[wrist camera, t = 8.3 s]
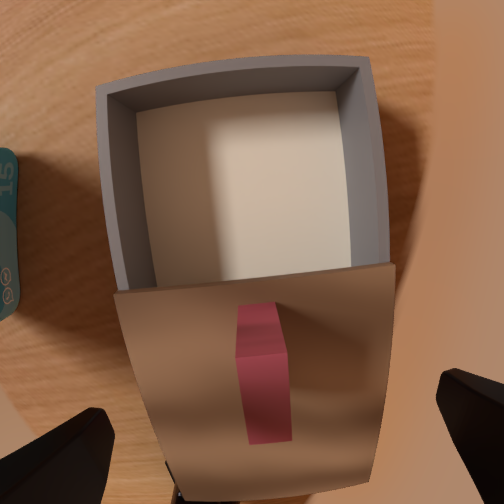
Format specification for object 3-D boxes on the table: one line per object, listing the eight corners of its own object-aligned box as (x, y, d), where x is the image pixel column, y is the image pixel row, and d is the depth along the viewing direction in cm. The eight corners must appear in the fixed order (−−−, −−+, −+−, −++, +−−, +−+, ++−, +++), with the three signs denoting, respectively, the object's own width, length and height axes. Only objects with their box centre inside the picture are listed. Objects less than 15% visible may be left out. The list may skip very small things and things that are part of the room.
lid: (366, 476, 17) (386, 527, 12) (186, 494, 17) (177, 549, 12) (390, 261, 14) (449, 296, 9) (117, 290, 14) (66, 336, 9)
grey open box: (356, 331, 20) (384, 369, 15) (165, 351, 20) (146, 393, 16) (340, 85, 17) (368, 56, 12) (129, 107, 17) (95, 86, 12)
